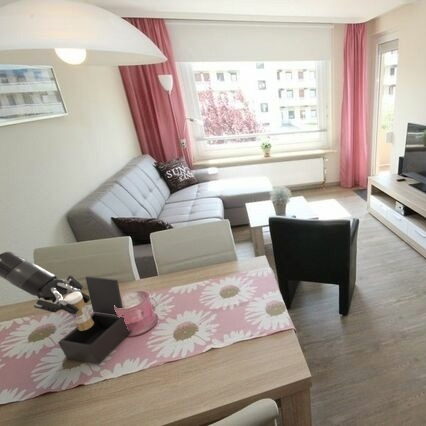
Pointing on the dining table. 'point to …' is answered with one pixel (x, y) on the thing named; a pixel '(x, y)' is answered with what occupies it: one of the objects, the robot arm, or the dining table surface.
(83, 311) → the sprinkles bottle
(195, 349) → the dining table surface
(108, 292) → the box lid
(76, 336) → the dark open box
